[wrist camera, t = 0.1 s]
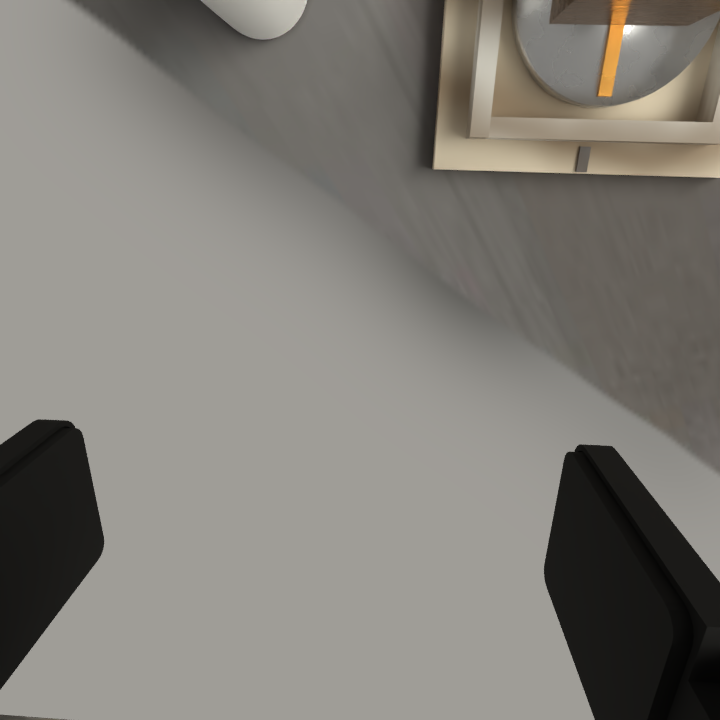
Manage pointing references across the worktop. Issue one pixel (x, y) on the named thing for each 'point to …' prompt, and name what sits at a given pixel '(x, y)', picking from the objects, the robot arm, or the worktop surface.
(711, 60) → the dial board
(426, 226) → the worktop surface
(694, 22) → the dial
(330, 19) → the worktop surface
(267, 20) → the can
